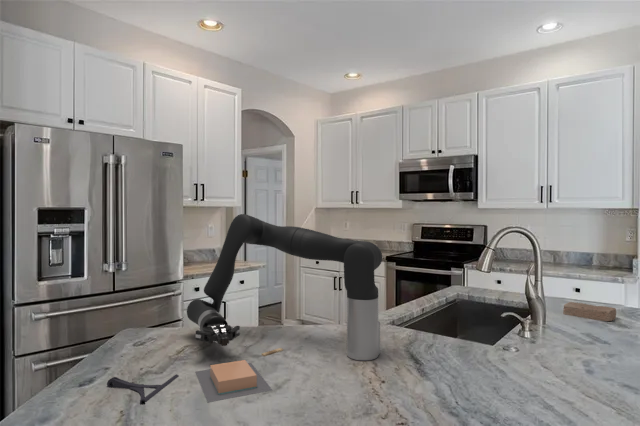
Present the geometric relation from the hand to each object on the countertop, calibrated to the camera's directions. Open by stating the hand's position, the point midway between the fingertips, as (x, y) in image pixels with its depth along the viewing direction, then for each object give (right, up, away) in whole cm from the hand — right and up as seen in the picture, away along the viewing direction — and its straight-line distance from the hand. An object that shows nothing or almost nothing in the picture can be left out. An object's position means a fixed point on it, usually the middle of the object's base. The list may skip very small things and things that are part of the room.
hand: (224, 342), depth 111 cm
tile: (+1, -6, -2) cm, 7 cm away
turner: (+9, -8, +11) cm, 16 cm away
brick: (+132, -8, +56) cm, 144 cm away
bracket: (-19, -9, -9) cm, 23 cm away
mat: (+3, -8, -6) cm, 11 cm away
